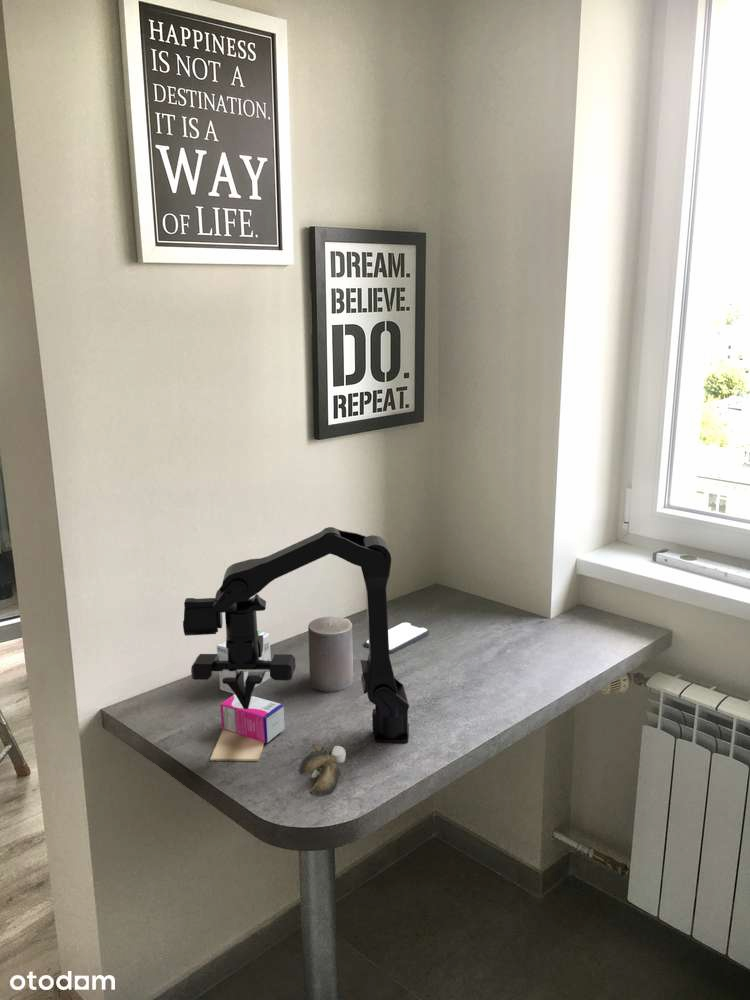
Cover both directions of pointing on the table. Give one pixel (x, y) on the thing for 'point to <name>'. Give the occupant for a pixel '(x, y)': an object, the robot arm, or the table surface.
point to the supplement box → (253, 718)
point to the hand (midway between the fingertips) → (246, 707)
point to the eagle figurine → (323, 768)
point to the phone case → (403, 636)
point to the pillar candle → (330, 653)
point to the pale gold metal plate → (236, 748)
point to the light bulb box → (224, 657)
